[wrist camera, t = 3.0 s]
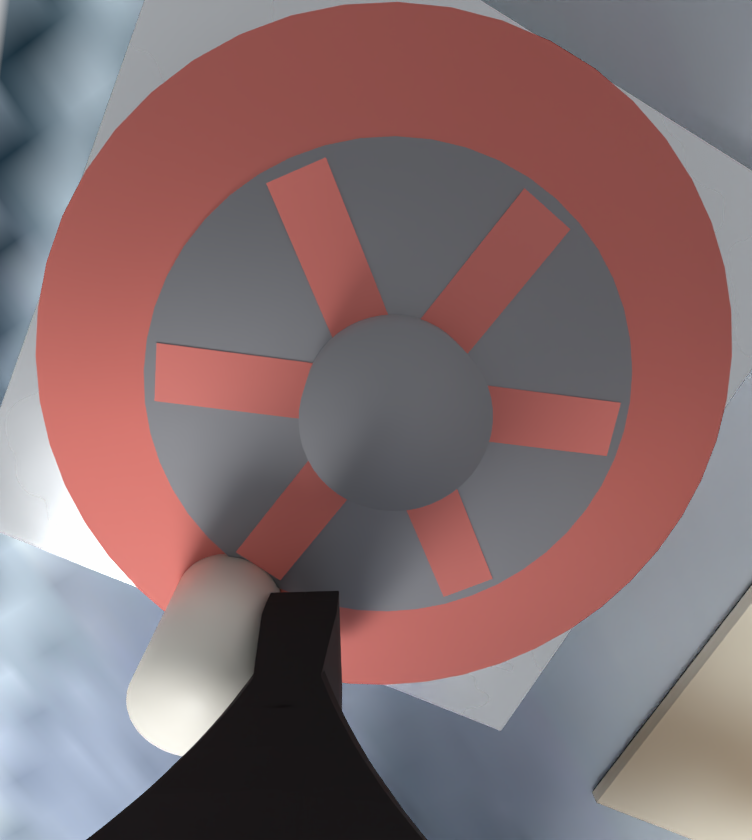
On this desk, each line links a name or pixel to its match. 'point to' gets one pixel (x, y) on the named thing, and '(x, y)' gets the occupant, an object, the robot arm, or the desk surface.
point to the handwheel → (379, 348)
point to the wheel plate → (139, 75)
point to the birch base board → (696, 745)
